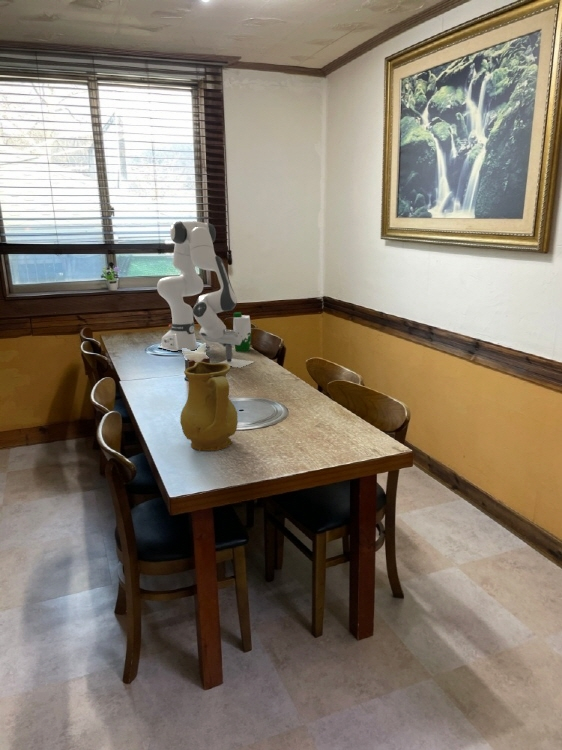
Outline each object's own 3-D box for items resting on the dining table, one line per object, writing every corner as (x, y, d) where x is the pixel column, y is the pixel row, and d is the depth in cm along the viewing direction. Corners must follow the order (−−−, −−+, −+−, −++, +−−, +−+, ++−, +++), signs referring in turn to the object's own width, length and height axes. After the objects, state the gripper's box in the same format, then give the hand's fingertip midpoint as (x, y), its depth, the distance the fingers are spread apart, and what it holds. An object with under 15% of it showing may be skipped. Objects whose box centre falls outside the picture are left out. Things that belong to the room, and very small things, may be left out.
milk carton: (235, 348, 287) (233, 311, 281) (251, 348, 287) (250, 311, 281) (233, 352, 278) (232, 314, 273) (250, 351, 278) (249, 314, 273)
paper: (216, 364, 254) (216, 363, 254) (230, 359, 264) (230, 358, 264) (240, 368, 247) (240, 367, 247) (254, 362, 257) (254, 361, 257)
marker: (224, 361, 256) (223, 332, 253) (228, 359, 259) (227, 331, 255) (229, 362, 255) (228, 333, 251) (233, 360, 257) (232, 332, 254)
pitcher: (240, 430, 171) (235, 356, 163) (238, 457, 153) (231, 375, 145) (187, 433, 171) (179, 358, 163) (178, 460, 153) (169, 378, 145)
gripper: (237, 325, 241) (249, 342, 252) (201, 322, 251) (215, 338, 262) (231, 337, 238) (244, 353, 249) (196, 333, 248) (210, 349, 259)
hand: (229, 345), depth 255 cm, fingers closed on marker, 3 cm apart
